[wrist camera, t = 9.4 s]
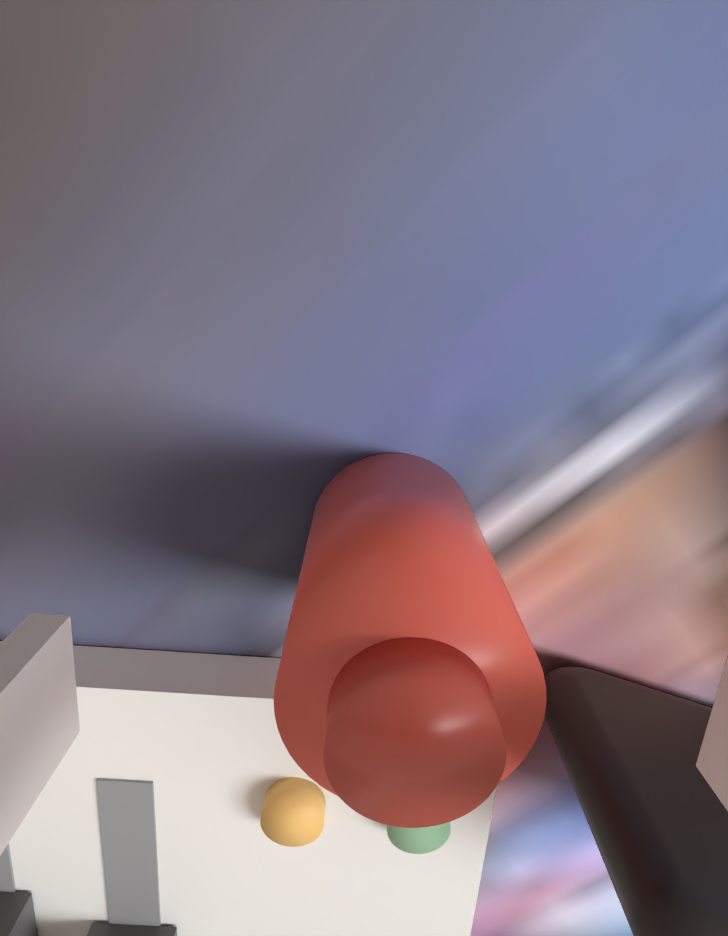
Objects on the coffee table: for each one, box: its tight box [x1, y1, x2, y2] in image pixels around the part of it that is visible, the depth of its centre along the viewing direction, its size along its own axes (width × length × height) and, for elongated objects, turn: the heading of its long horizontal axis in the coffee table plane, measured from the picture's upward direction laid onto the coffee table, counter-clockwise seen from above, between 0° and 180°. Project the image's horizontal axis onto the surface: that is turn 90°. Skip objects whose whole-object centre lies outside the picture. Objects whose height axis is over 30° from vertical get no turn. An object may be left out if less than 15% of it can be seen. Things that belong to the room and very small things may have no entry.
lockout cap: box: [274, 453, 547, 828], centre depth 14 cm, size 5×5×9 cm
